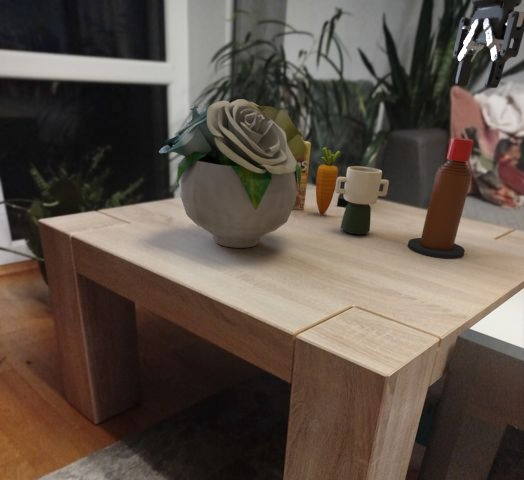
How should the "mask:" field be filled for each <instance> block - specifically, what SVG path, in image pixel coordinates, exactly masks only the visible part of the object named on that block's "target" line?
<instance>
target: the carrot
mask: <svg viewBox="0 0 524 480" xmlns="http://www.w3.org/2000/svg"><path fill="white" fill-rule="evenodd" d="M321 150H322V153H323V156H322V157H321V160H322V161H323V164H320V165H319V166H318V168H317V171H316V181H315V199H316V200H315V201H316V206H317V209H318V212H319V214H320V216H324V215H325V214H326V212H327V211H328V209H329V207H330V205H331V203H332V200H333V196H334V194H335V187H336V180H337V178H338V174H339V168H338V166H336V165H334V163H335V162H336V160H337V159H338V157H339V156H340V155H341V154H342V153H341V151H340V150H337V151H336V153H335V154H334V153H332V151H331V150H330V149H327V147H326V146H325V147H323V148H322V149H321Z"/></svg>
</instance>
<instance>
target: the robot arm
mask: <svg viewBox="0 0 524 480" xmlns="http://www.w3.org/2000/svg"><path fill="white" fill-rule="evenodd" d="M522 1H523V0H471V3H472V5H473V6H475V10H474V14H473V16H472V17H468V16H462V17H461V18H460V20H459V24H458V29H457V33H456V38H455V42H454V46H453V50H452V57H454V58H456V59H457V60H458V61H459V62H458V66H457V70H456V71H457V72H456V76H455V81H454V83H455V86H459V87H466V86H468V85H469V81H470V77H471V73H472V69H473V65H474V62H473V61H474V59H475V58H476V56H477V54H478V53H479V52H480V51H482V50H483V49H484V47H487V48H488V49H489V50H490V56H491V61H489V64H488V68H487V72H486V76H485V81H484V87H485V88H491V89H496V88H498V87H499V84H500V82H501V79H502V76H503V73H504V68H505V65H506V62H508V61H509V59H511V58H516V57H517V56H518V55H519V52H520V48H521V44H522V40H523V38H524V11H519V10H515V8H517V7H519V6H520V5H521V4H522ZM512 40H513V43H512V46H511V42H512ZM462 43H463V47H462ZM510 46H511V47H510ZM461 47H462V49H461Z"/></svg>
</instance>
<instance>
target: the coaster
mask: <svg viewBox="0 0 524 480" xmlns="http://www.w3.org/2000/svg"><path fill="white" fill-rule="evenodd" d="M420 241H421V237H415V238H414V237H413V238H410V239H408V241H407V248H408V249H409V250H411V251H413V252H414V253H416V254H420V255H423V256H426V257H431V258H436V259H459V258H462V257H463V256H465V252H466V250H465V248H464V247H463V246H461V245H459V244H457V243H455V242H454V246H453V249H451V250H436V249H431V248H427V247H425V246H423V245H421V244H420Z"/></svg>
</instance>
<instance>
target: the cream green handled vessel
mask: <svg viewBox="0 0 524 480" xmlns="http://www.w3.org/2000/svg"><path fill="white" fill-rule="evenodd" d="M382 176H383V171H382V170H381V169H379V168H374V167H369V166H361V165H359V166H358V165H356V166H348V167H347V168H346V175H345V176H337V180H336V186H335V191H334V193H336V194H344V195H343V196H344V199H345V200H346V201H348V202H349V203H348V204H347V206H346V207H345V209H344V213H343V215H342V219H341V224H340V229H342V230H343V231H345V232H346V233H350V234H355V235H363V234H364V235H365V234H368V233H369V232H370V231H371V217H372V216H371V215H372V213H371V212H372V208H371V205H373V204H376V203H377V201H378V197H386V196H387V195H388V190H389V184H390V181H389V179H383V178H382ZM342 183H344V187H343V188H344V189H342V188H341V184H342ZM381 185H383V188H382V190H380V187H381Z"/></svg>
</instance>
